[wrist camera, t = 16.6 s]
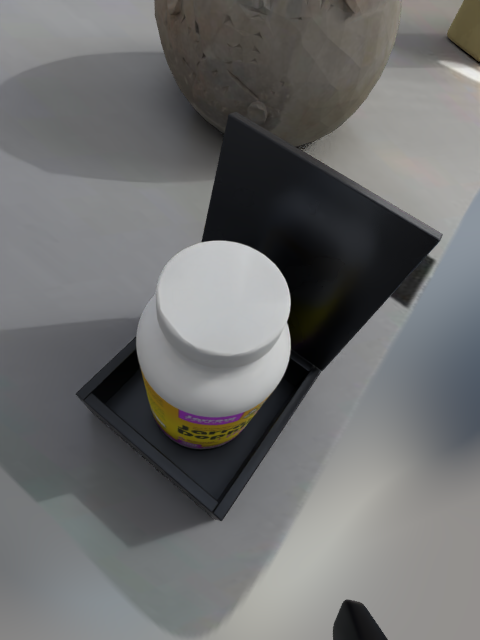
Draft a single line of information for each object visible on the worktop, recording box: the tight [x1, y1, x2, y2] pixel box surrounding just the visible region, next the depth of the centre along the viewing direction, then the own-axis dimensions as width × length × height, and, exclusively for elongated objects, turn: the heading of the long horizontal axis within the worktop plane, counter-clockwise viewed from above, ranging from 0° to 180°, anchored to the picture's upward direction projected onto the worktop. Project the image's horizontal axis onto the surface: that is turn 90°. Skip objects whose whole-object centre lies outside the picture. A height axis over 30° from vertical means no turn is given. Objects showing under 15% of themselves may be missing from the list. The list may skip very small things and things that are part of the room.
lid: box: [202, 112, 443, 371], centre depth 19 cm, size 11×10×1 cm
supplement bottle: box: [136, 241, 291, 449], centre depth 18 cm, size 7×7×13 cm
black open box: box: [76, 337, 321, 521], centre depth 22 cm, size 10×10×4 cm
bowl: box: [155, 0, 402, 147], centre depth 35 cm, size 23×23×15 cm
